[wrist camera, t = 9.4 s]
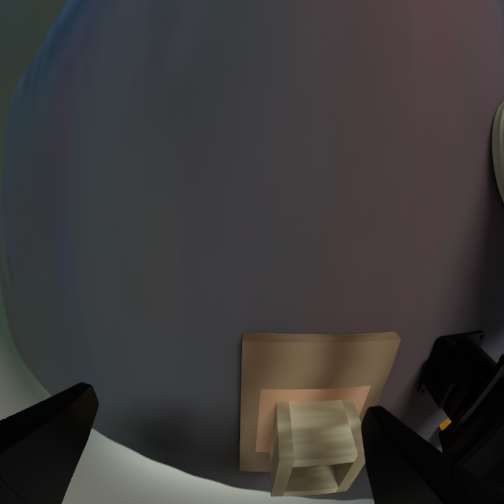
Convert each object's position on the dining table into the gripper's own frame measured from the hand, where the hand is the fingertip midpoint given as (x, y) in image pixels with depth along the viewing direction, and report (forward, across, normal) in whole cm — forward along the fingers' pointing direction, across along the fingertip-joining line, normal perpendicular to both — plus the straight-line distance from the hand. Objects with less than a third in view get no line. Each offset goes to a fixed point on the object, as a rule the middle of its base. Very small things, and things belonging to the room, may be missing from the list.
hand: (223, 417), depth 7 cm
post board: (+12, -6, +13) cm, 19 cm away
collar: (+11, -6, +13) cm, 18 cm away
